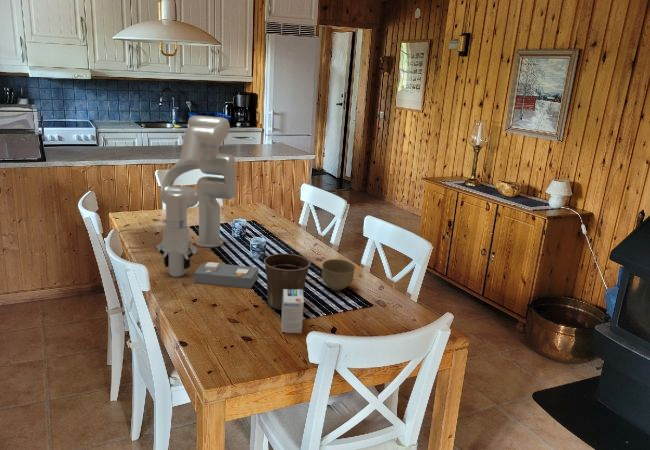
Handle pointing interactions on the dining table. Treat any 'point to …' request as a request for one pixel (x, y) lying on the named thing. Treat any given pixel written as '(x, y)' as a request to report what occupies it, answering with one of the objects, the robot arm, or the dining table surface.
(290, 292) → the light bulb box
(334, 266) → the bowl
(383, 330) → the dining table surface
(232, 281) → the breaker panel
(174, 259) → the beverage can
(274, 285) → the plant pot
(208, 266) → the block
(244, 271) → the block
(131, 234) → the dining table surface
